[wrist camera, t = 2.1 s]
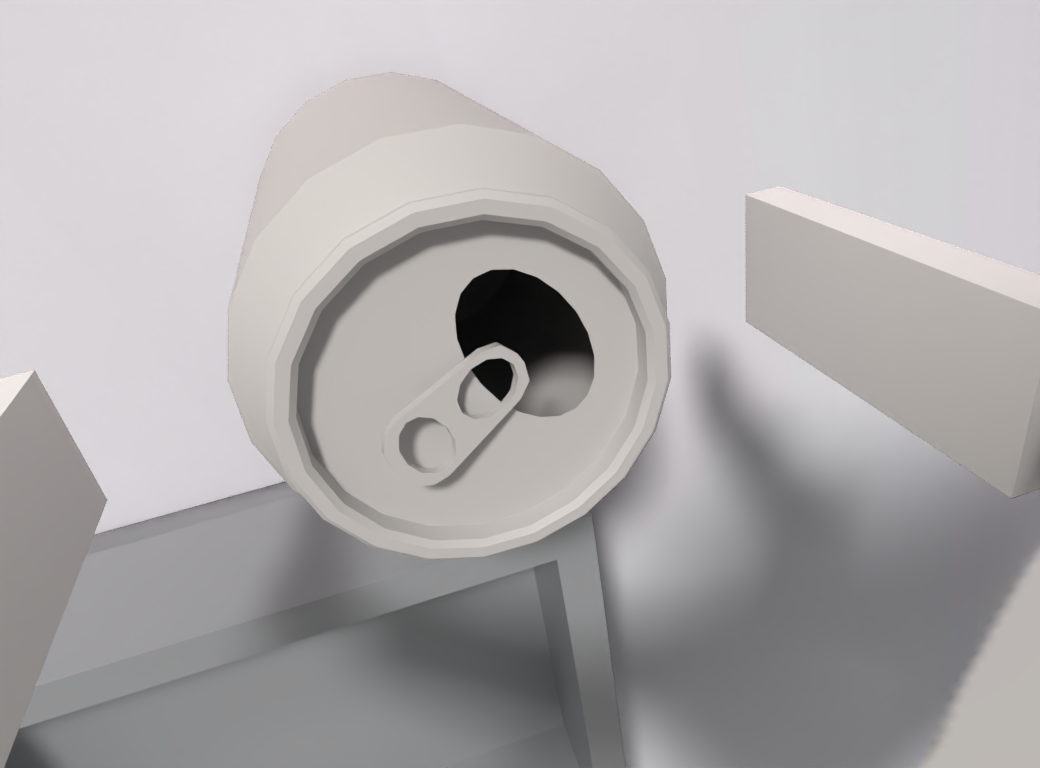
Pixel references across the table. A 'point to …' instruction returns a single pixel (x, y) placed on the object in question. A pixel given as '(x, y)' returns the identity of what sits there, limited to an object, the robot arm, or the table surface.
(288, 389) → the can
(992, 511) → the table surface
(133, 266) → the table surface
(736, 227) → the table surface
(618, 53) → the table surface
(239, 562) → the bin
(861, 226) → the robot arm
